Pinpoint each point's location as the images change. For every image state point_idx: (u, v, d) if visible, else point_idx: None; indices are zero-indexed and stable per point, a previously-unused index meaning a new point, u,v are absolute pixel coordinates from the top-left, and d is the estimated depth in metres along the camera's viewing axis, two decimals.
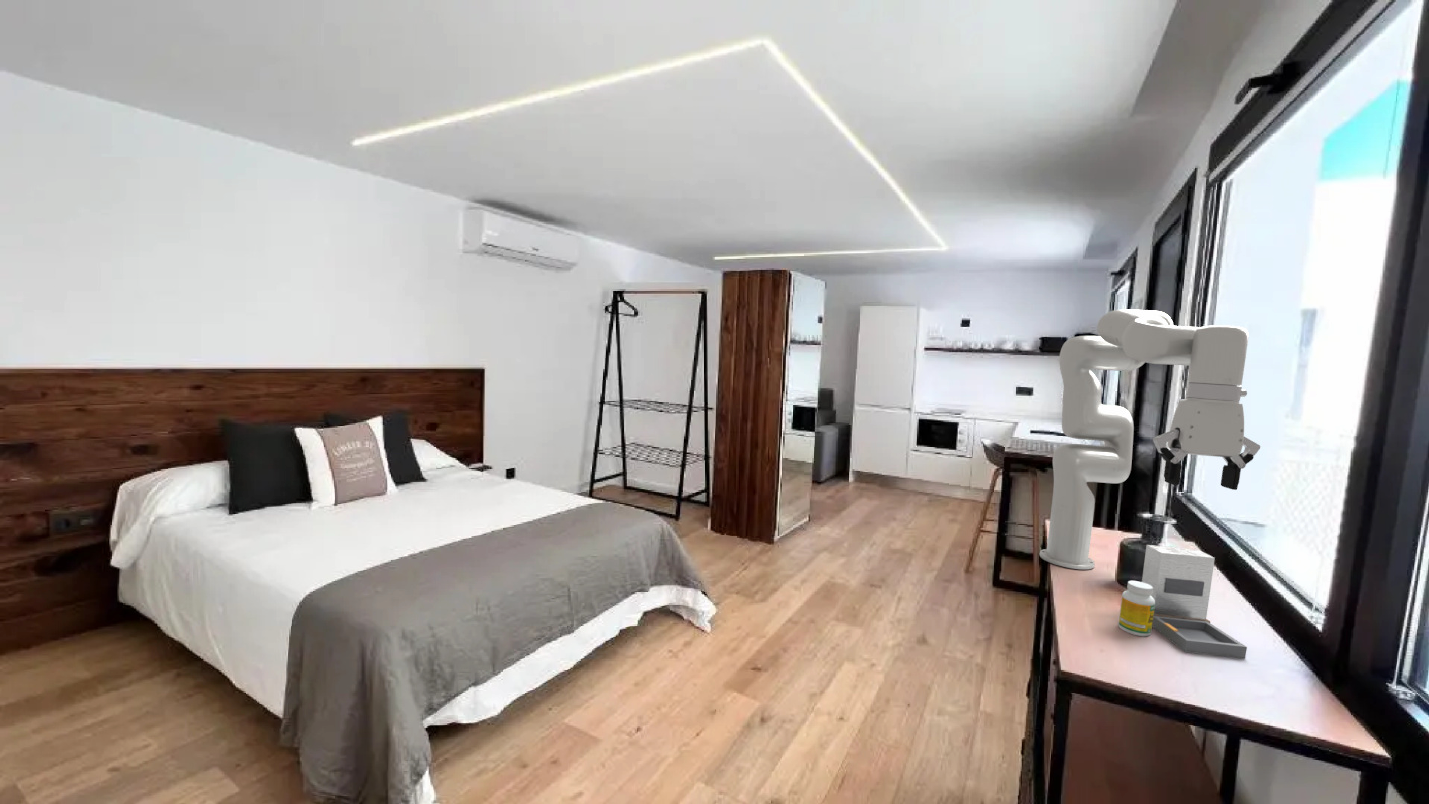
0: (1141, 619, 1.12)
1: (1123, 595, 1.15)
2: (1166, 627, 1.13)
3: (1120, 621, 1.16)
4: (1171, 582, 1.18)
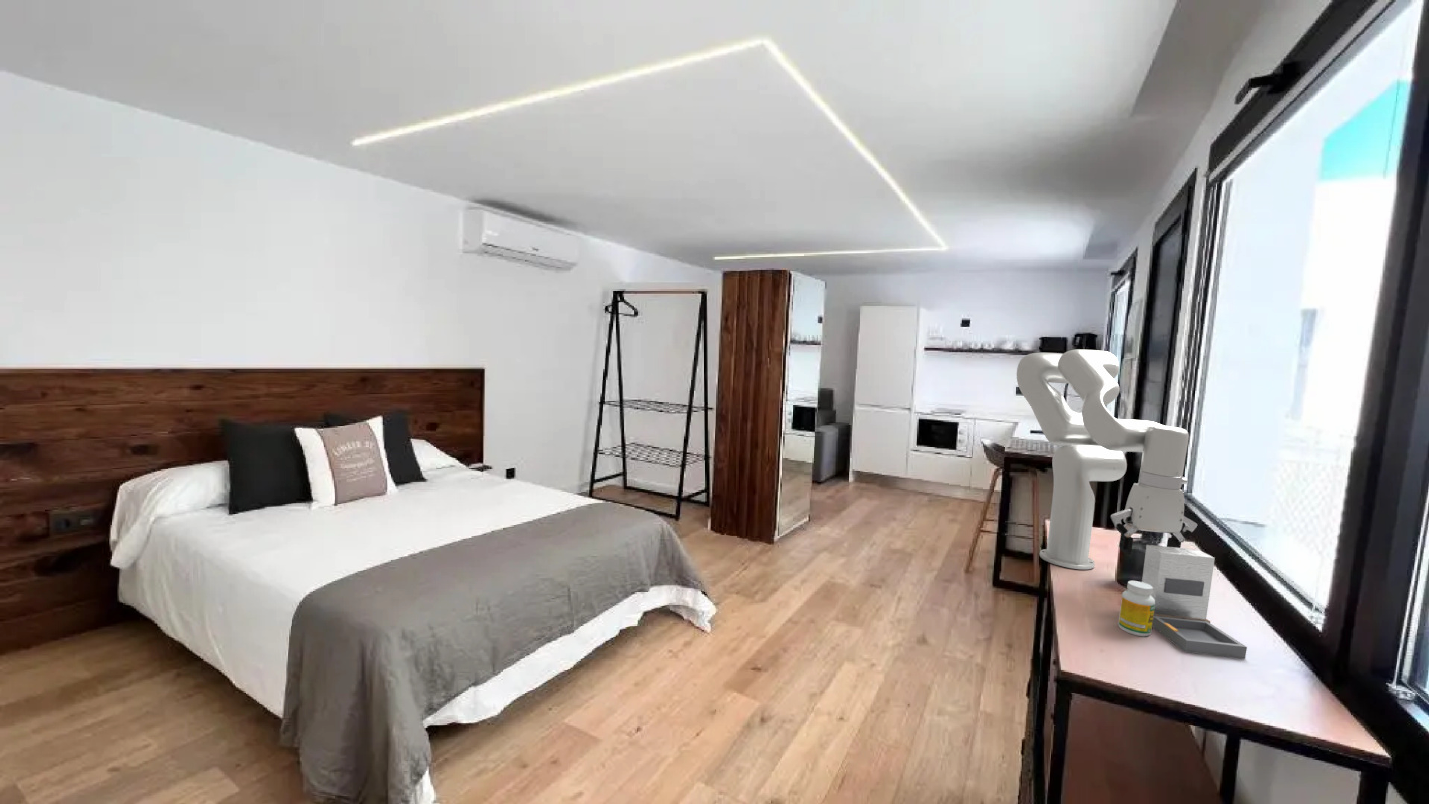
0: (1141, 619, 1.12)
1: (1123, 595, 1.15)
2: (1166, 627, 1.13)
3: (1120, 621, 1.16)
4: (1171, 582, 1.18)
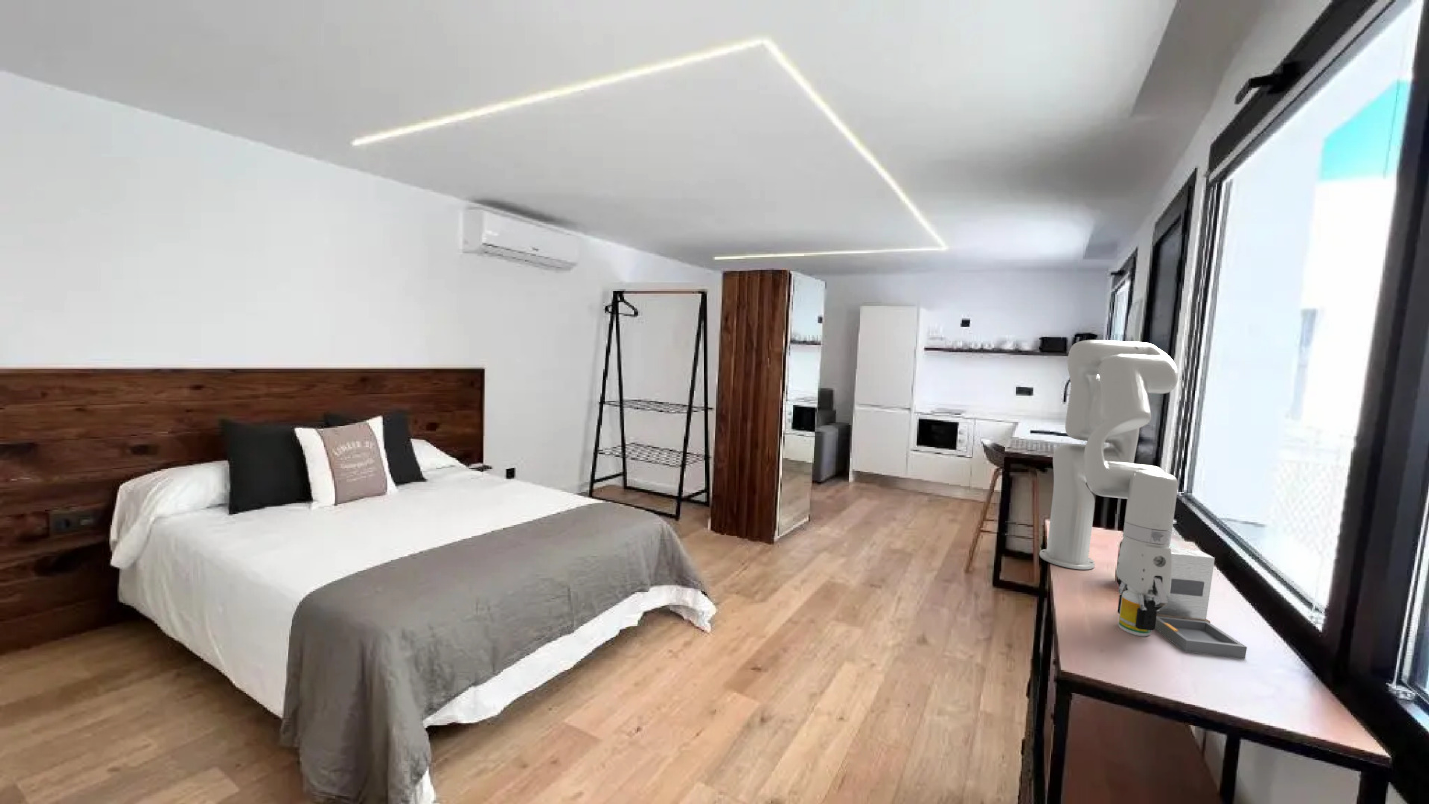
0: None
1: (1123, 595, 1.15)
2: (1166, 627, 1.13)
3: (1120, 621, 1.16)
4: (1171, 582, 1.18)
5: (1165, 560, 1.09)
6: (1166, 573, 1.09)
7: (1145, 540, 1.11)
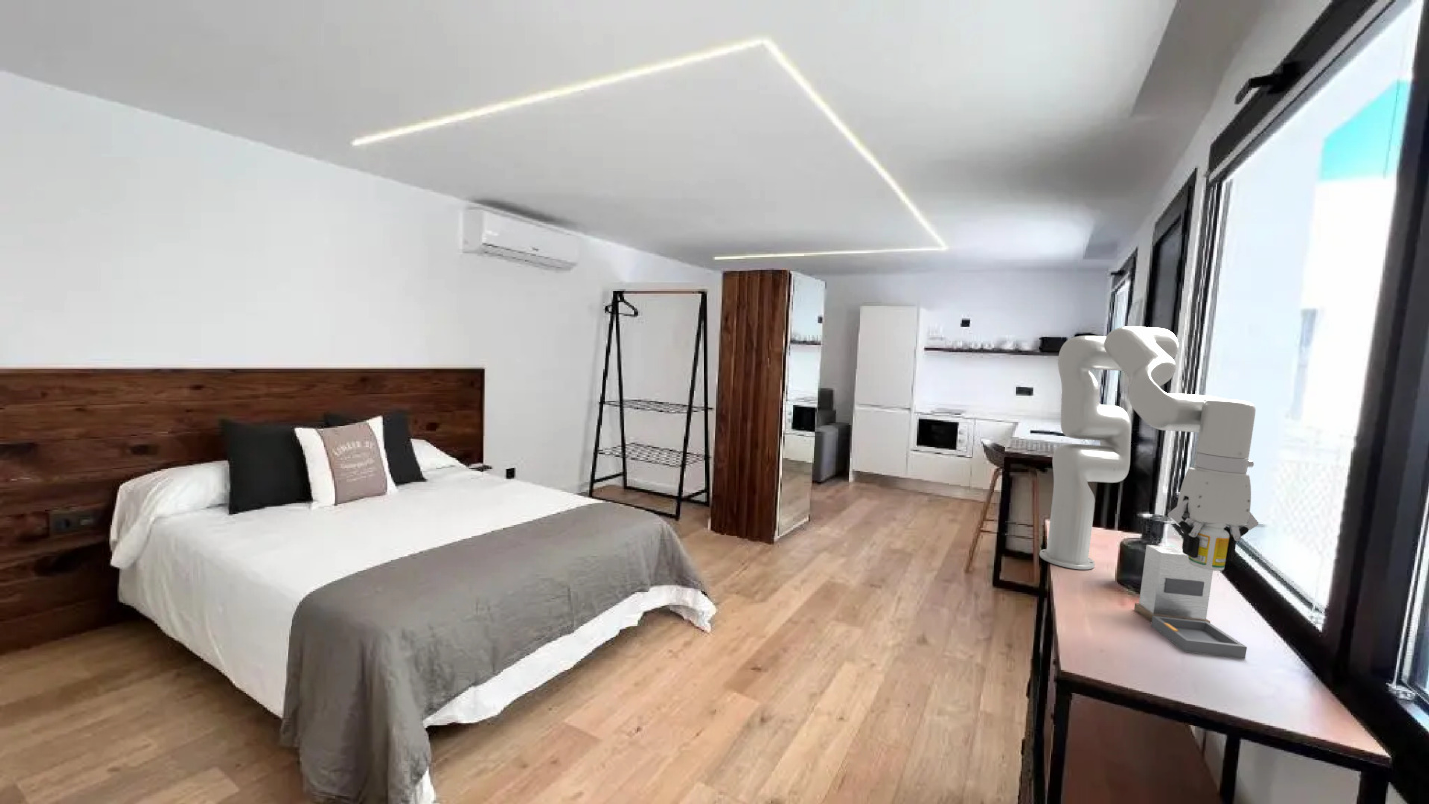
0: None
1: (1218, 535, 1.08)
2: (1166, 627, 1.13)
3: (1215, 563, 1.08)
4: (1171, 582, 1.18)
5: None
6: None
7: (1246, 470, 1.06)
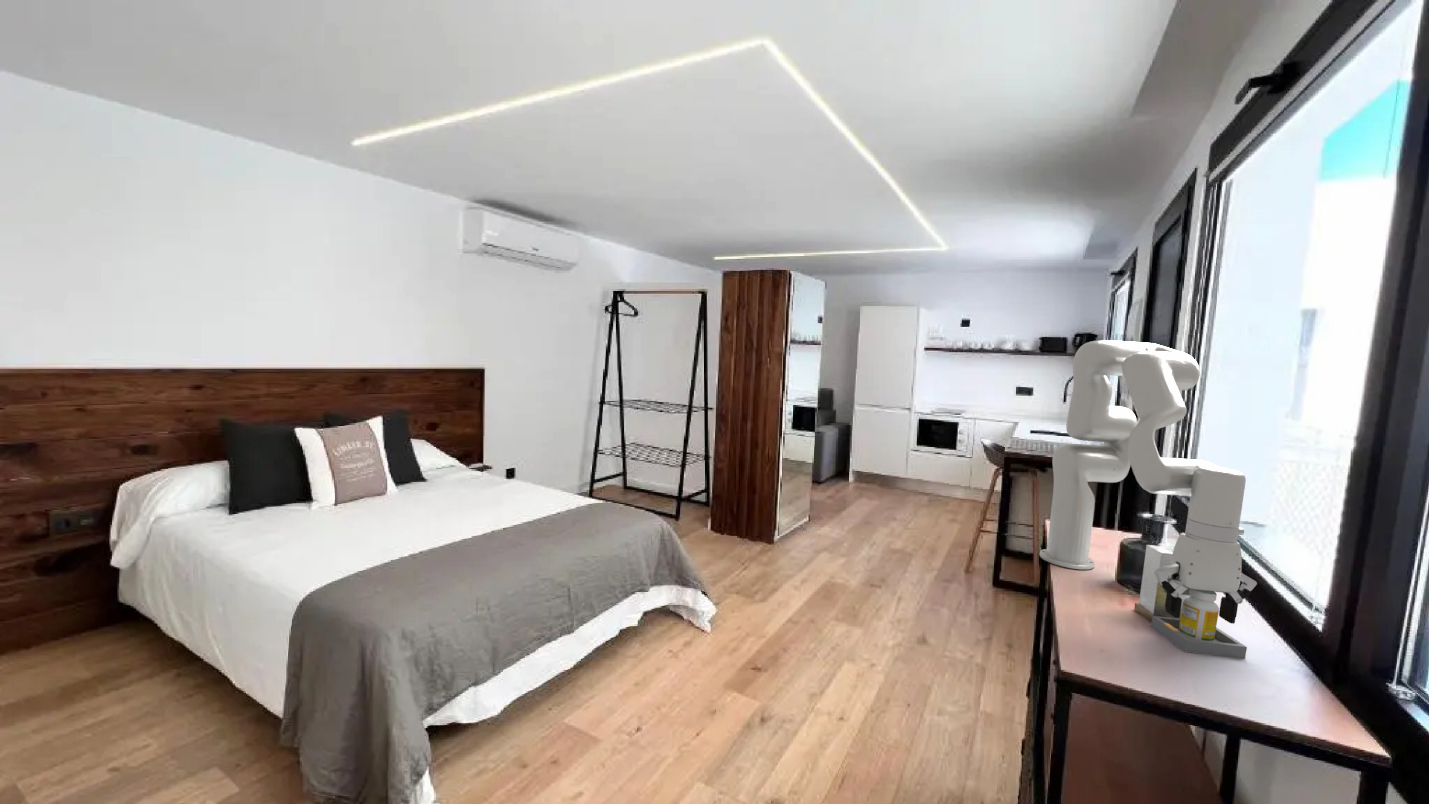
0: None
1: (1207, 609, 1.09)
2: (1166, 627, 1.13)
3: (1205, 636, 1.09)
4: None
5: None
6: None
7: None
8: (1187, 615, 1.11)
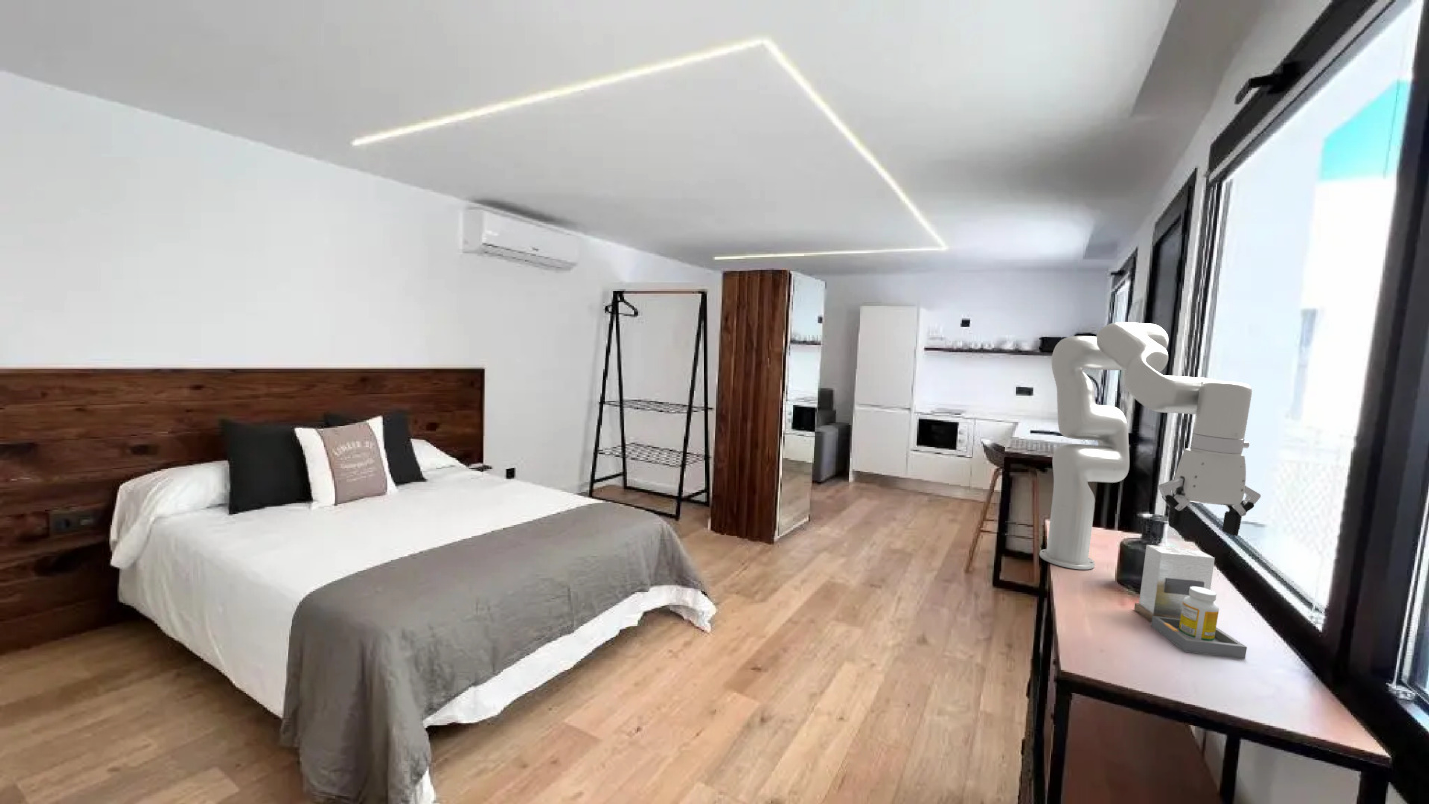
0: None
1: (1207, 609, 1.09)
2: (1166, 627, 1.13)
3: (1204, 636, 1.09)
4: (1171, 582, 1.18)
5: None
6: None
7: None
8: (1186, 615, 1.11)
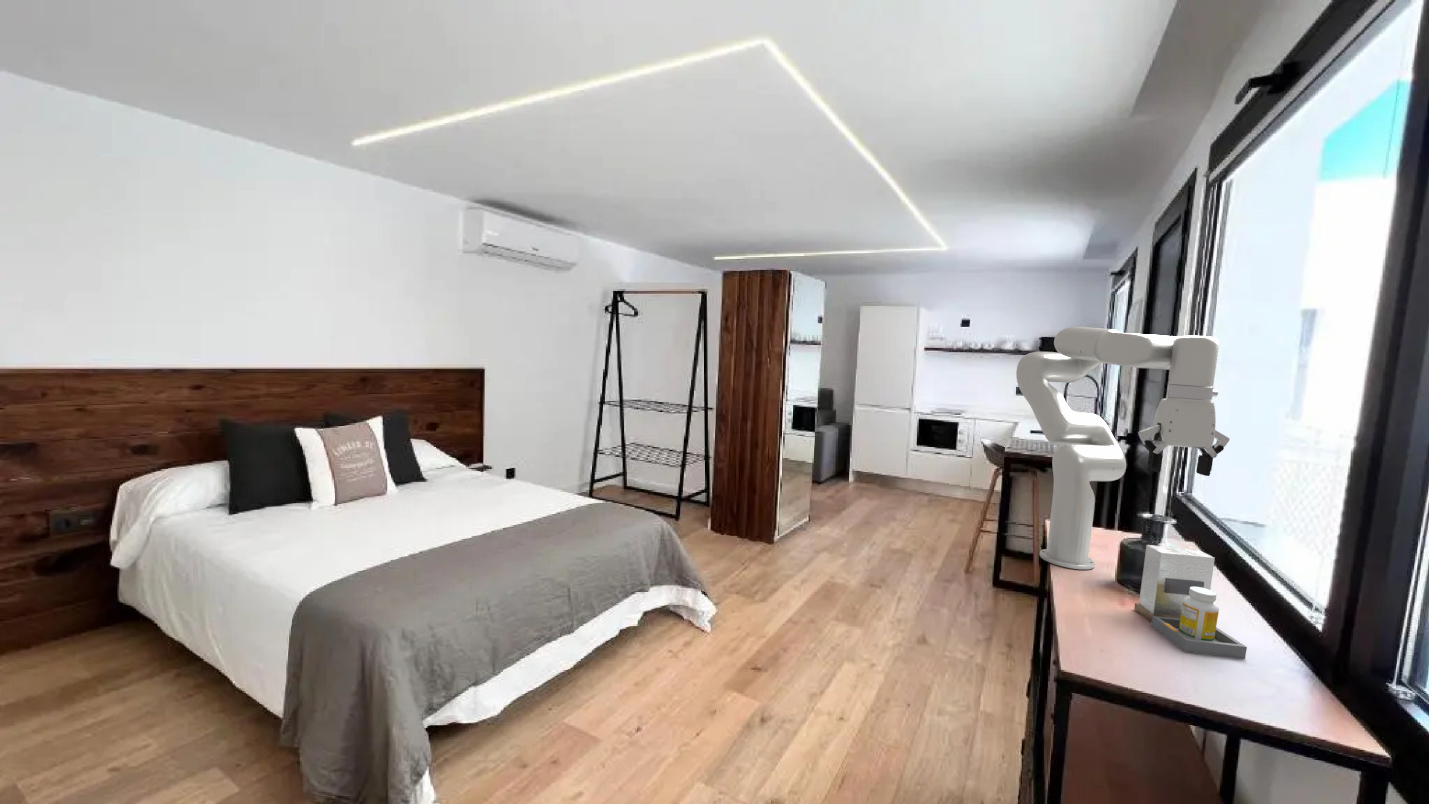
0: None
1: (1207, 609, 1.09)
2: (1166, 627, 1.13)
3: (1204, 637, 1.09)
4: (1171, 582, 1.18)
5: None
6: None
7: (1211, 398, 1.21)
8: (1186, 616, 1.11)
